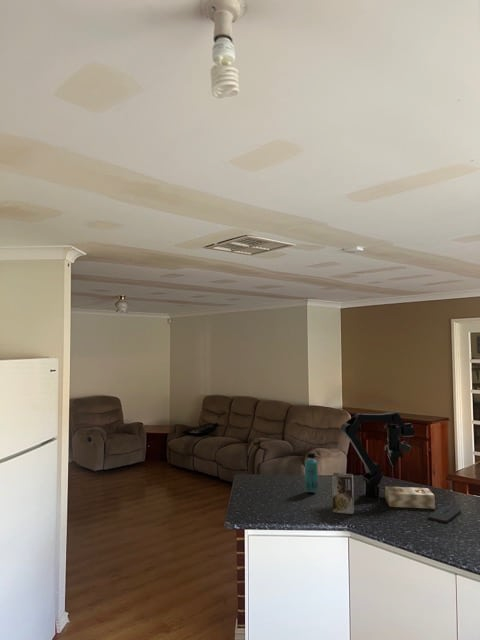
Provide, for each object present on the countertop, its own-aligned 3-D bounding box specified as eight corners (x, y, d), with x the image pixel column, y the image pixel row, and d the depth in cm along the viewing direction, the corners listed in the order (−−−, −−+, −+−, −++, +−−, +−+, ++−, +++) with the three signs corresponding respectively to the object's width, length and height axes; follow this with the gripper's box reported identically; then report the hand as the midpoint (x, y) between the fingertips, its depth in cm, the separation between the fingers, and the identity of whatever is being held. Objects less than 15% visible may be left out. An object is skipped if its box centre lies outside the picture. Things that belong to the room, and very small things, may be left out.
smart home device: (461, 509, 210) (446, 520, 195) (462, 513, 210) (446, 524, 195) (442, 505, 216) (426, 516, 201) (443, 509, 215) (426, 520, 201)
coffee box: (354, 510, 212) (353, 473, 213) (353, 514, 206) (352, 477, 207) (334, 507, 215) (333, 472, 216) (332, 512, 209) (331, 475, 210)
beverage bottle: (303, 491, 242) (303, 451, 244) (316, 490, 243) (315, 451, 244) (306, 494, 236) (306, 454, 237) (319, 494, 236) (318, 454, 238)
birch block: (389, 506, 217) (389, 493, 218) (385, 498, 229) (385, 486, 230) (434, 508, 215) (434, 495, 215) (428, 500, 226) (427, 488, 227)
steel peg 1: (395, 503, 221) (394, 491, 222) (393, 501, 225) (393, 489, 225) (403, 503, 221) (402, 491, 221) (401, 501, 224) (401, 489, 225)
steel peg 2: (417, 504, 220) (416, 492, 220) (415, 502, 223) (415, 490, 224) (425, 504, 219) (424, 492, 220) (423, 502, 223) (422, 490, 223)
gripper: (414, 440, 229) (414, 473, 228) (405, 434, 248) (406, 464, 246) (390, 440, 231) (391, 472, 230) (384, 434, 249) (384, 463, 248)
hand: (394, 468), depth 238 cm, fingers closed
